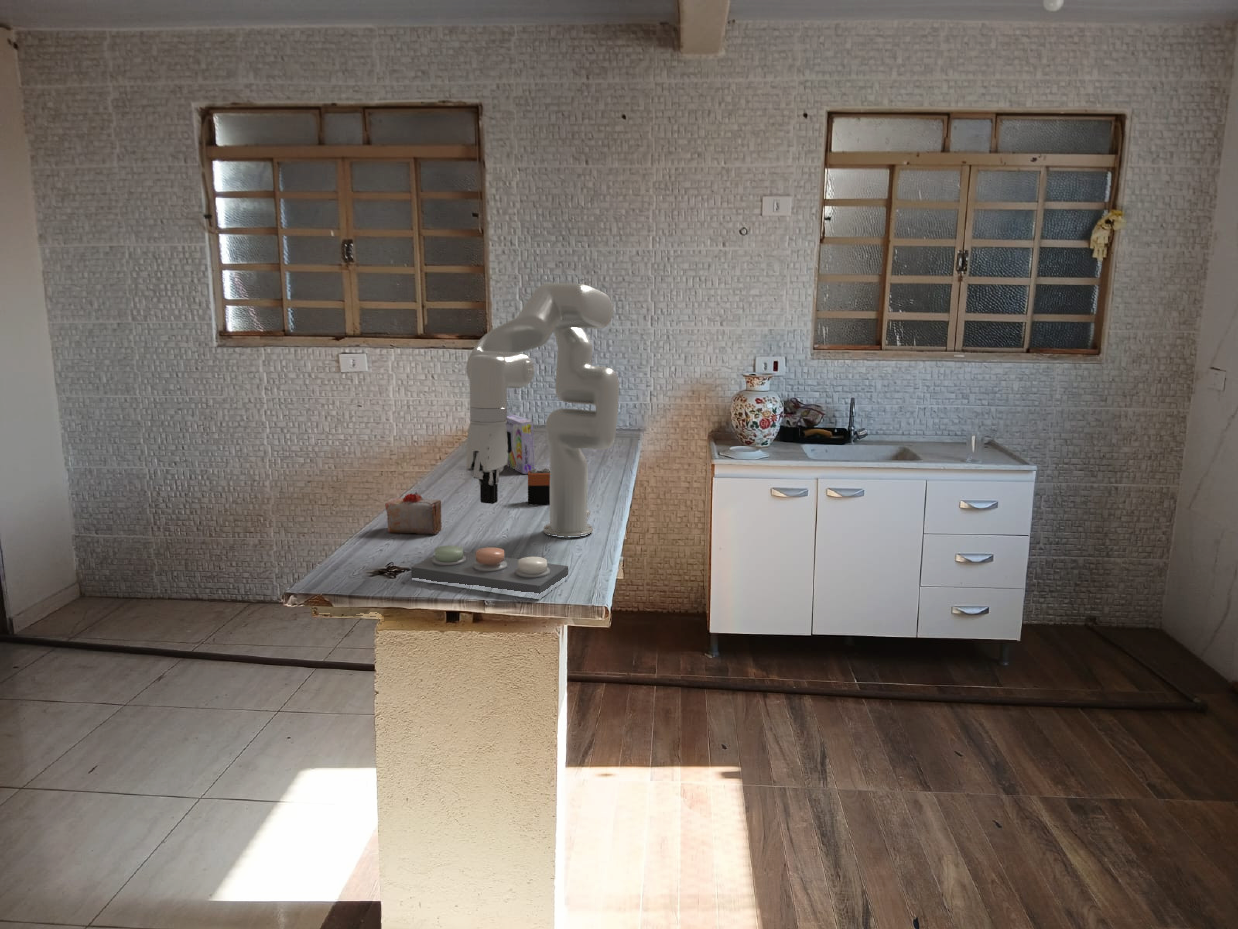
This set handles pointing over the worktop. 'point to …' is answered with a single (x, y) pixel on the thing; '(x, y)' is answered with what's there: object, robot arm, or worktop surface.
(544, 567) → the button white
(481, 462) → the robot arm
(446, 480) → the worktop surface
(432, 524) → the food item
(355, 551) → the worktop surface
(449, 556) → the button green
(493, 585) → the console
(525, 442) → the cake pan box
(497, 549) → the button terracotta
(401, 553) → the worktop surface
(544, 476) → the battery
